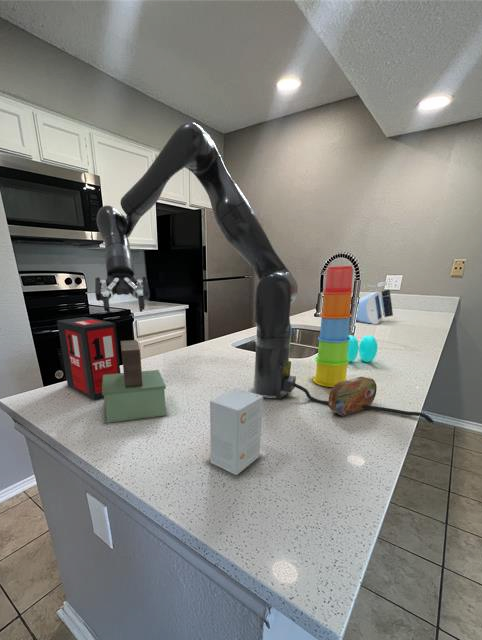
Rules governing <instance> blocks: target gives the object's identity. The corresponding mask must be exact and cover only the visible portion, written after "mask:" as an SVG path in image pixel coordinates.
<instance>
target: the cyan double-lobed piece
mask: <svg viewBox="0 0 482 640" xmlns="http://www.w3.org/2000/svg"><path fill="white" fill-rule="evenodd" d="M348 337H350V340H349V342H348V354H347V358H348V359H349V363H350V362H351V363H352V362H354V360H356V358H357V357H358V354H359V357H360V359H361V360H362V361H363V362H365V363H370V362H372V361H374V359H375V358H376V356H377V353H378V342H377V339H376V338H375V337H374V336H373V335H371V334H368V335H365V336H363V338H362V339H361V340H360V342H358V339H357V338H356V337H355V336H354V335H351V334H349V336H348Z"/></svg>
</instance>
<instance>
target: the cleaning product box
mask: <svg viewBox="0 0 482 640" xmlns="http://www.w3.org/2000/svg"><path fill="white" fill-rule="evenodd" d="M56 324H57V330H58V337H59V343H60V349H61V353H62V361H63V366H64V367H63V368H64V371H65V372H64V373H65V378H66V385H67V386H68V387H70V388H72V389H73V390H76V391H77V392H79V393H81V394H82V395H84V396H86V397H88V398H90V399H91V400H93V401H96V400H100V399H102V398H103V399H104V395H102V383H103V375H107V374H118V373H121V365H120V355H119V345H118V337H117V327H116V323H115V322H111V321H106V320H102V319H97V318H93V317H88V316H83V317H75V318H66V319H59V320H56Z"/></svg>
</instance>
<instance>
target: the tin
mask: <svg viewBox="0 0 482 640" xmlns="http://www.w3.org/2000/svg"><path fill="white" fill-rule="evenodd" d="M377 388H378V387H377V383H376V381H375V380H374V379H373V378H371V377H365V376H358V377H354V378H350V379H347V380H346V381H341V382H339V383H337V384H336V385H334V387H331V389H330V391H329V395H328V401H329V405H328V408H329V410H330V411H332V412H333V413H335V414H338V415H339V416H341V417H343V416H348V415H351V414H354V413H357V412H360V411H363V410H365V409H364V408H362V406H363V405H369V406H372V404H373V402H374V401H375V398H376V396H377V390H378V389H377Z"/></svg>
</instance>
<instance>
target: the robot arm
mask: <svg viewBox="0 0 482 640" xmlns="http://www.w3.org/2000/svg"><path fill="white" fill-rule="evenodd" d="M182 169H183V170H184V169H187V170H188V171H190V172H191V173H192V174H193V175H194V176H195V177H196V179H197V180H198V181H199V183H200V184H201V186H202V187H203V189H204V190H205V192H206V194H207V196H208V199H209V202H210V206H211V209H212V213H213V216H214V219H215V221H216V223H217V225H218V227H219V229H220V231H221V232H222V233H223V235H224V238H225V239H226V240H227V242H228V243H229V245H231V247H232V248H233V250H235V251H236V253H238V254H239V255H240V256H241V258H243V259H244V260H245V261H246V262H247V264H249V266H250V267H251V268H252V270H253V271H254V273H255V275H256V277H257V279H258V283H257V285H256V289H255V299H254V323H255V327H256V338H255V340H256V342H255V359H254V375H253V376H254V377H253V390H252V391H253V392H252V393H255V394H258V395H261V396H263V399H277V400H278V399H279V400H282V398H283V397H285V396H286V395H287V394H289V393H291V394H292V392H293V390H294V389H295V388H296V389H298V390H301V391H302V392H304V394H305V395H306V397H307V399H309V400H310V401H312V402H314V403H318V404H322V405H325V406H327V405H328V406H329V400H322V399H318V398H315V397H314V396H312V395H311V394H310V392H309V390H308V389H307V388H305V387H304V386H303V385H300V384H298V383H296V381H297V376H296V375H291V369H292V361H291V360H290V351H291V340H292V332H293V331H292V330H293V326H292V323H291V304H293V303H294V301H295V300H296V299H297V297H298V292H299V288H298V287H299V286H298V282H297V280H296V277H294V275H293V273H291V271H290V270H289V268H288V267H287V266H286V265H285V263H284V262H283V261H282V259H281V258H280V256H279V254H277V252H276V251H275V249H274V247H273V245H272V243H271V241H270V239H269V237H268V235H267V233H266V231H265V230H264V228H263V226H262V224H261V222H260V221H259V219H258V217H257V215H256V213H255V212H254V210H253V208H252V206H251V205H250V202H249V201H248V200H247V199H246V197H245V195H244V194H243V192H242V191H241V189H240V188H239V186H238V184H236V182H235V180H234V179H232V177H231V175H230V173H229V172H228V170H227V168H226V166H225V163H224V161H223V159H222V157H221V155H220V152H219V150H218V148H217V146H216V144H215V142H214V140H213V138H212V137H211V135H209V133H208V132H206V131H205V130H204V129H203V128H202V127H201V126H200V125H198V124H196V123H195V122H193V121H186V122H184V123H182V124H180V126H178V127H177V129H175V130H174V132H173V133H172V134H171V136H170V138H168V140H167V142H166V143H165V145H164V146H163V148H162V149H161V150H160V152H159V153H158V155H157V156H156V158H155V159H154V160H153V162H152V163H151V164H150V165H149V167H148V169H147V171H146V172H145V173H144V174H143V175H142V176H141V177H140V179H138V180H137V182H135V184H134V185H133V186H131V188H130V189H128V191H126V193H125V194H124V195H123V196H122V197H121V198H120V203H119V204H120V207H121V209H122V211H123V212H124V214H125V215H124V214H122V213H121V212H120V211H119V210H117V209H116V208H114V207H113V206H112V205H103V206H101V207H100V208H99V210H98V212H97V214H96V225H97V228H98V231H99V234H100V236H101V238H102V241H103V242H104V247H105V248H104V251H105V257H104V258H105V270H106V278H105V279H101V278H100V277H95V279H94V280H95V281H94V284H95V285H94V286H95V288H94V291H95V292H94V293H95V294H94V295H95V299H96V301H98V302H100V301H102V303H103V310H104V312H106V313H107V314H110V313H111V309H110V300H111V299H113V298H114V296H116V295H117V296H121V295H124V296H125V295H126V296H127V295H128V296H129V295H131V296H132V297H133V298H136V299H137V300H138V301H137V302H138V309H139V312H140V313H143V311H144V310H145V308H146V307H145V306H146V304H145V300H150V296H151V295H150V294H151V291H150V287H149V283H148V279H147V277H146V276H142V278H141V279H140V278H139V279H137V278H136V276H135V268H134V261H133V255H132V252H131V246H130V240H129V238H130V236H131V235H132V233H133V231H134V229H135V227H136V225H137V224H138V222H139V221H140V220H141V218H142V217H143V216H144V215H145V214H146V213H148V212H149V211H150V209H152V208H153V207H154V206H155V205H156V203H158V201H159V199H160V197H161V196H162V193H163V191H164V189H165V186H166V185H167V183H168V182H169V181H170V179H171V178H172V177H173V176H175V175H176V174H177V173H178V172H180V171H181V170H182ZM138 285H139V287H140V288H141V289H143V292H142V291H141V290H140V288H139V287H138ZM105 286H107V287H106V290H105V291H104V292H103V293H102V290H103V289H104V287H105ZM362 408H364V410H372V411H379V412H387V413H393V414H399V415H402V416H403V415H404V416H415V417H420V418H423V419H425V420H426V422H428V423H430V424H434V423H435V422H434V420H433V419H432V418H431V417H430V416H429V415H428V414H426V413H423V412H419V411H407V410H402V409H396V408H389V407H383V406H376V405H375V406H374V405H370V406H369V405H363V406H362ZM419 415H420V416H419Z"/></svg>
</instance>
